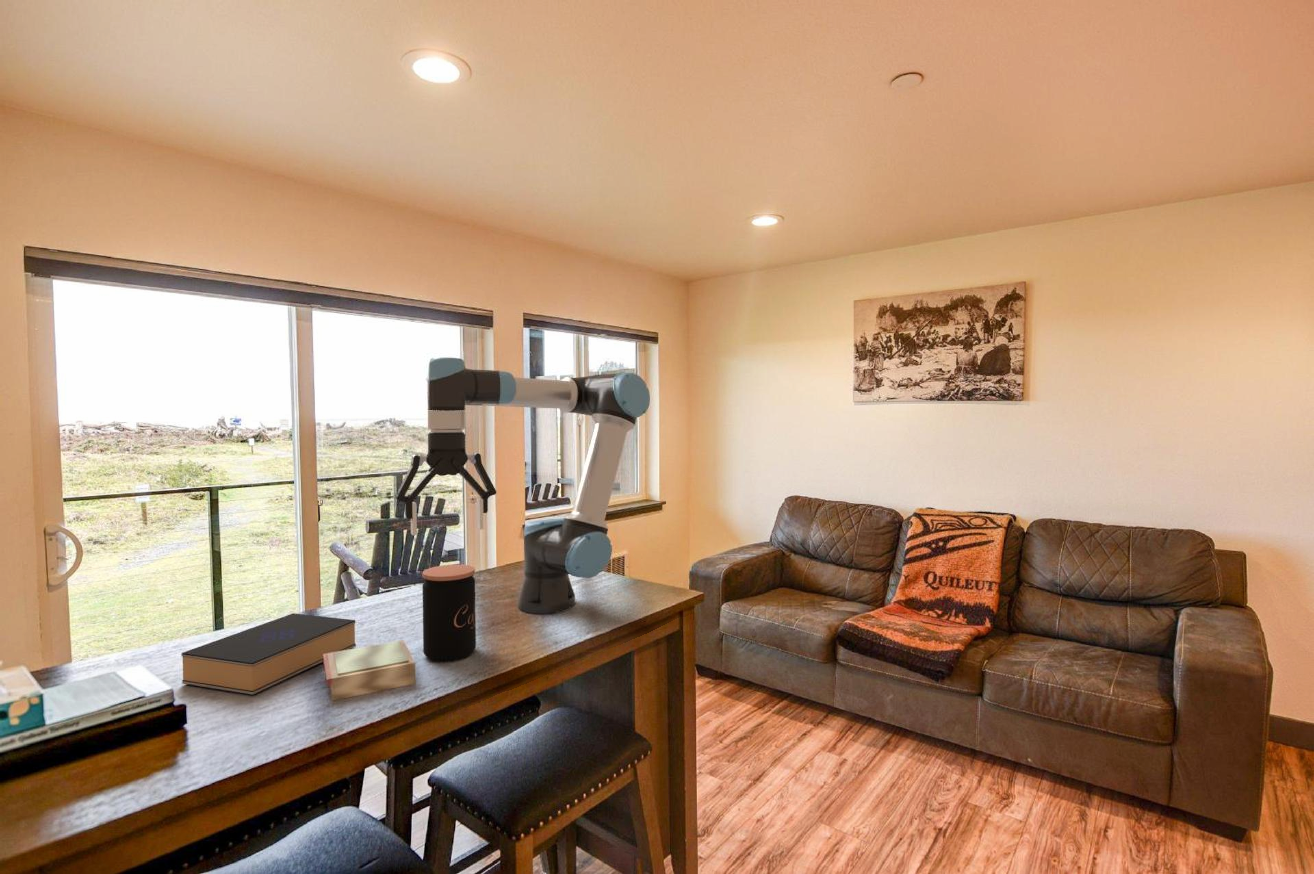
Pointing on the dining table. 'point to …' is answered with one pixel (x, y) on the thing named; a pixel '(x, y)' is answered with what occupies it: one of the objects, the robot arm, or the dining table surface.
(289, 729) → the dining table surface
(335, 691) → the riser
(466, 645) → the coffee jar
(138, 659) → the dining table surface
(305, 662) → the book
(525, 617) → the dining table surface
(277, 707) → the dining table surface
